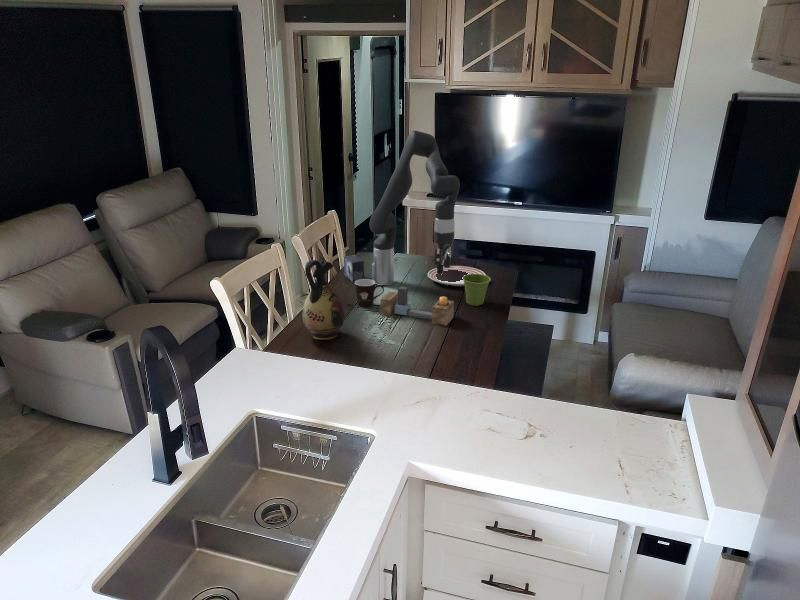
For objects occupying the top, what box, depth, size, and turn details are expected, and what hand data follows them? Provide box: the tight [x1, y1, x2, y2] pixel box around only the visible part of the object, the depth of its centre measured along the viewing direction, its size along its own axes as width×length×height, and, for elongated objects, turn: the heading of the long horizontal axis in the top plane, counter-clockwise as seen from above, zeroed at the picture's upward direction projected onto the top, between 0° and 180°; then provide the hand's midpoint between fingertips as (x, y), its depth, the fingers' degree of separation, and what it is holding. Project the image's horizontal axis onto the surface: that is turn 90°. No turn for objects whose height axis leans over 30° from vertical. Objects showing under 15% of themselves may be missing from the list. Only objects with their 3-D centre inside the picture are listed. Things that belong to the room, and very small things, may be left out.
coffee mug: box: [354, 278, 385, 308], centre depth 247 cm, size 12×9×10 cm
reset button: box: [439, 296, 448, 306], centre depth 231 cm, size 3×3×4 cm
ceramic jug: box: [302, 259, 345, 341], centre depth 215 cm, size 17×15×30 cm
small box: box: [343, 254, 365, 283], centre depth 277 cm, size 11×6×10 cm, turn 28°
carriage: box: [395, 286, 412, 316], centre depth 238 cm, size 5×5×10 cm
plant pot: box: [462, 274, 492, 307], centre depth 249 cm, size 12×12×11 cm
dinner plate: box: [427, 265, 487, 287], centre depth 278 cm, size 27×27×3 cm
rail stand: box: [380, 291, 455, 326], centre depth 237 cm, size 28×9×7 cm, turn 68°
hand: (443, 270), depth 226 cm, fingers open, 8 cm apart
